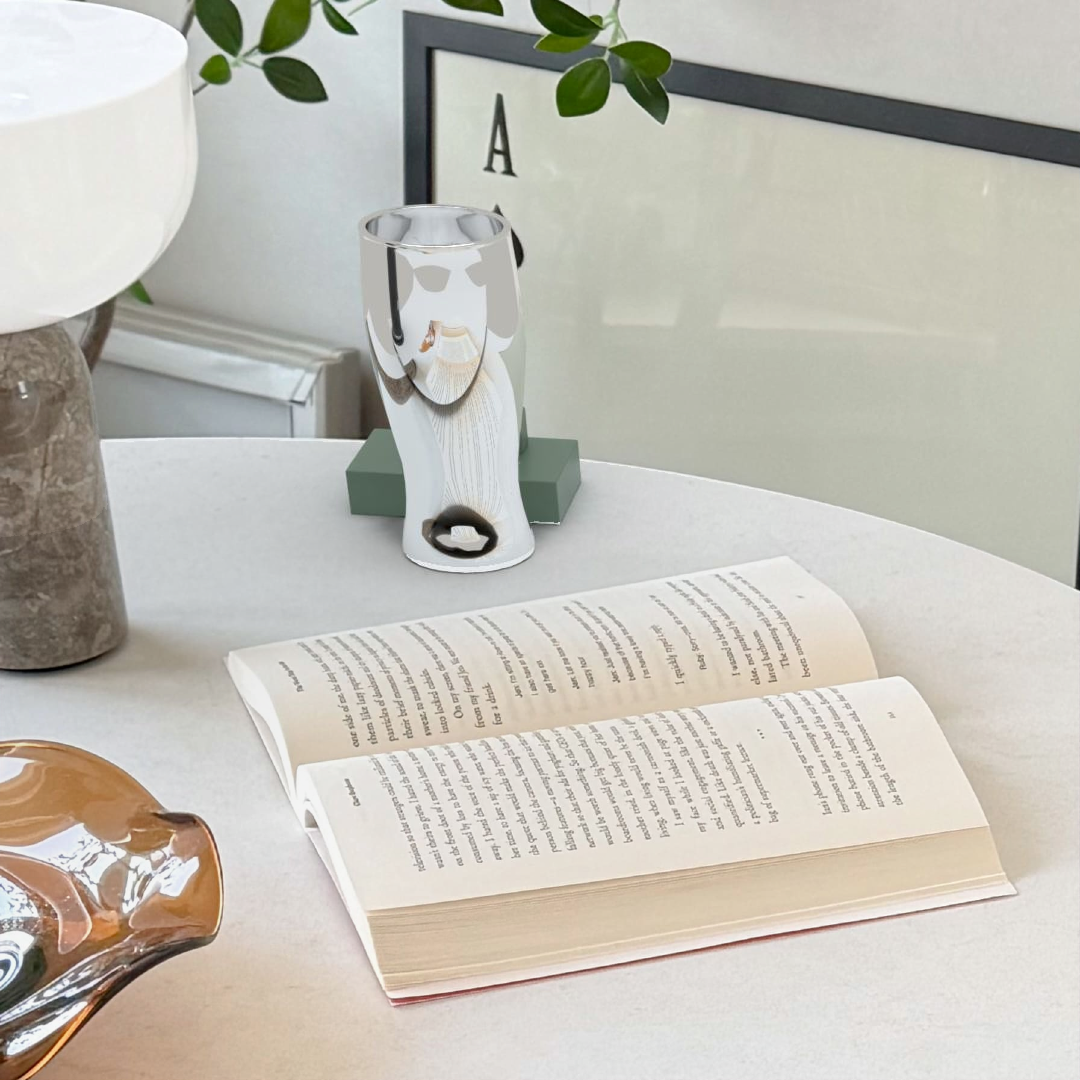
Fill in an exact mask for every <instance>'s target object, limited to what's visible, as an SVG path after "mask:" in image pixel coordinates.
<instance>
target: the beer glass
mask: <svg viewBox="0 0 1080 1080" xmlns="http://www.w3.org/2000/svg"><path fill="white" fill-rule="evenodd" d="M357 230H358V240H359V241H358V242H359V265H360V266H359V268H360V286H361V289H360V290H361V300H362V311H363V321H364V329H365V334H366V340H367V346H368V347H367V348H368V352H369V356H370V360H371V364H372V368H373V373H374V377H375V381H376V384H377V387H378V391H379V394H380V397H381V401H382V404H383V408H384V411H385V414H386V417H387V421H388V425H389V427H390V429H391V430H392V433H393V437H394V440H395V444H396V447H397V451H398V454H399V458H400V462H401V468H402V473H403V479H404V490H405V516H404V517H403V518H404V519H403V532H402V551H403V554H404V553H406V555H408V556H409V557H410V558H413V559H415V560H420V561H422V562H427V563H431V564H436V565H442V566H451V567H479V566H489V565H495V564H500V563H504V562H508V561H511V560H514V559H517V558H519V557H521V556H523V555H525V554H526V553H528V552H529V551H530V550H531V549H532V548H533V547H534V544H535V545H536V540H535V535H534V532H533V528H532V524H530V521H529V517H528V514H527V510H526V507H525V503H524V499H523V494H522V490H521V482H520V471H519V463H520V462H519V449H520V433H521V422H522V411H523V407H524V396H525V385H526V384H525V383H526V361H527V343H526V326H525V314H524V305H523V297H522V290H521V284H520V283H521V282H520V277H519V271H518V265H517V259H516V254H515V249H514V243H513V237H512V225H511V223H510V222H509V220H508V219H507V218H505V217H504V216H502V215H500V214H499V213H497V212H493V211H491V210H487V209H483V208H479V207H474V206H468V205H458V204H446V203H445V204H444V203H442V204H441V203H424V204H423V203H421V204H409V205H400V206H393V207H388V208H384V209H380V210H377V211H374V212H371V213H369V214H367V215H365V216H363V217H362V218H361V219H360V220H359V221H358V224H357Z"/></svg>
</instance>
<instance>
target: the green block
mask: <svg viewBox="0 0 1080 1080" xmlns="http://www.w3.org/2000/svg"><path fill="white" fill-rule="evenodd" d="M528 435H529V434H528V424H527V413H526V408H525V406H523V411H522V422H521V433H520V449H519V462H520V463H519V471H520V482H521V490H522V494H523V499H524V503H525V507H526V510H527V514H528V517H529V521H530V522H534V521H539V522H554V523H558V522H561V521H562V522H563V520H564V519H565V516H566V515H567V512H568V509H569V508H570V506H571V503H572V501H573V499H574V498H575V495H576V494H577V491H578V489H579V488H580V485H581V483H582V474H581V463H580V462H581V461H580V449H579V441H578V439H573V438H571V439H569V438H554V437H553V438H552V437H536V436H535V437H533V436H528ZM344 472H345V478H346V486H347V493H348V501H349V509H350V514H351V515H357V516H377V517H392V516H405V490H404V479H403V473H402V468H401V462H400V458H399V454H398V451H397V447H396V444H395V440H394V437H393V433H392V430H391V428H373V430H372V431H371V432H370V434H369V436H368V437H367V438H366V440H365V442H364V443H363V444H362V446H361V447H360V448H359V450H358V452H357V454H356V455H355V456H354V457H353V459H352V461H351V462H350V463H349V465H348V466H347V468H346V469H345V471H344ZM564 515H565V516H564ZM562 519H563V520H562ZM562 522H561V523H562Z"/></svg>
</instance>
